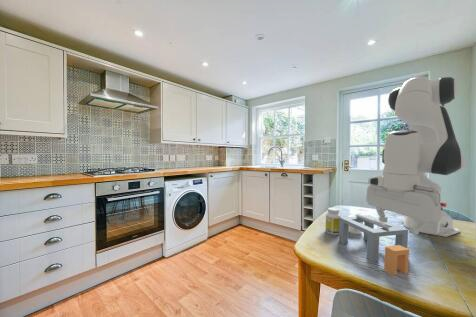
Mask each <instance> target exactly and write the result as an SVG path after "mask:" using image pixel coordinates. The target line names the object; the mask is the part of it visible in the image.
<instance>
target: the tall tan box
mask: <svg viewBox="0 0 476 317" xmlns="http://www.w3.org/2000/svg"><path fill="white" fill-rule="evenodd" d="M384 248H385V249H384V264H383V265H384V266H383V270H384V271H386V272H387V273H389V274H390V275H392V276H397V275H398V272H397V271H400V272H401V273H403V274H405V275H406V274H408V273H409V260H410V259H409V258H410V257H409V256H410V255H409V254H410V249H409V248H408V247H407V248H405V247H403V246H400V245H395V244H394V245H387V246H385V247H384Z"/></svg>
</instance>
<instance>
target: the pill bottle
mask: <svg viewBox="0 0 476 317" xmlns="http://www.w3.org/2000/svg"><path fill="white" fill-rule="evenodd" d="M339 213H340V209H339V208H337V207H328V208H327V213H326V214H325V232H326V233H327V234H329V235H331V236H332V235H333V236H339V218H340V217H342V216H341V214H339Z"/></svg>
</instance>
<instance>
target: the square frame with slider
mask: <svg viewBox="0 0 476 317" xmlns="http://www.w3.org/2000/svg"><path fill="white" fill-rule="evenodd" d="M355 215H356V216H351V217H347V216H341V217H340V218H339V235H338V242H340V244H341V243H342V244H348V243H349V231H348V228H349V226H351V227H353V228H355V229H357V230H359V231H362V233H363V239H364V240H366V259H367V260H369V261H370V262H372V263H373V262H374V263H375V262H379V252H380V251H379V250H380V249H379V248H380V237H388V236H390V237H391V236H395V244H394V245H400V246H403V247H405V248H407V249H408V241H409V228H406V227H403V226H400V225H398V224H395V223H391V222H389V221H387V222H385V223H384V222H381V221H379V217H375V216H372V215H370V214H367V215H363V214H360V213H356V214H355ZM359 222H363V224H361V223H359ZM375 226H378V228H374V227H375Z"/></svg>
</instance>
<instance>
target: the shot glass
mask: <svg viewBox="0 0 476 317" xmlns="http://www.w3.org/2000/svg"><path fill="white" fill-rule="evenodd" d="M351 216H356V214H347V215H346V217H351ZM359 223H361V224H363V225H364V222H359ZM348 233H351V234H355V235H361V234H362V233H363V232H362V231H359V230H357V229H355V228H353V227H351V226H349V228H348Z"/></svg>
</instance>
